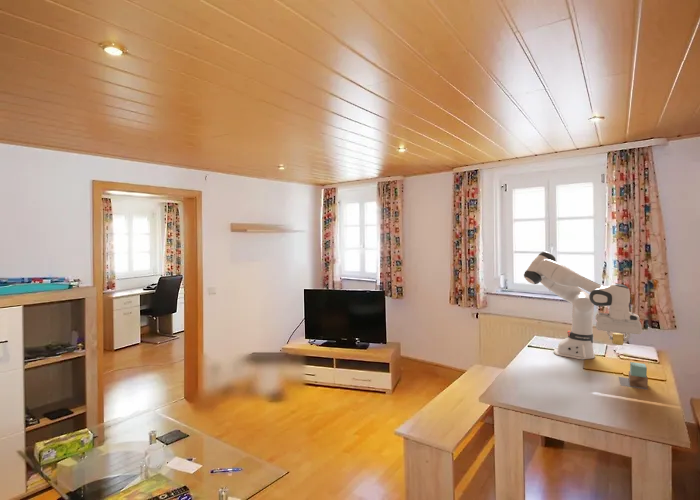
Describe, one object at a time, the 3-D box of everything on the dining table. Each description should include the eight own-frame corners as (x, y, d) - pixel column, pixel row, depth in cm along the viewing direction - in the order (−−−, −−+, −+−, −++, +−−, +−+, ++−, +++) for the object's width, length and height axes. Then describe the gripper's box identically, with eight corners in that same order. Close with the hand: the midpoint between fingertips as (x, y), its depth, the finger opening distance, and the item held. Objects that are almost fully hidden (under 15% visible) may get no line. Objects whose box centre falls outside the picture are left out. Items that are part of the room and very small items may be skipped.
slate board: (620, 387, 197) (620, 385, 197) (618, 378, 208) (618, 376, 208) (648, 391, 192) (648, 389, 192) (644, 382, 203) (644, 380, 203)
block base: (630, 385, 197) (630, 375, 197) (628, 380, 203) (628, 371, 203) (647, 388, 193) (647, 378, 193) (645, 383, 199) (645, 373, 199)
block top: (631, 375, 197) (631, 365, 196) (630, 371, 202) (630, 362, 202) (646, 377, 194) (646, 367, 193) (644, 373, 199) (644, 363, 199)
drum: (612, 343, 210) (612, 334, 210) (611, 341, 214) (612, 332, 214) (623, 345, 207) (624, 336, 207) (622, 343, 212) (623, 333, 211)
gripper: (596, 313, 212) (595, 338, 213) (643, 317, 202) (642, 344, 203) (595, 311, 218) (594, 336, 219) (641, 315, 208) (640, 341, 209)
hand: (617, 340), depth 211 cm, fingers closed on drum, 5 cm apart
